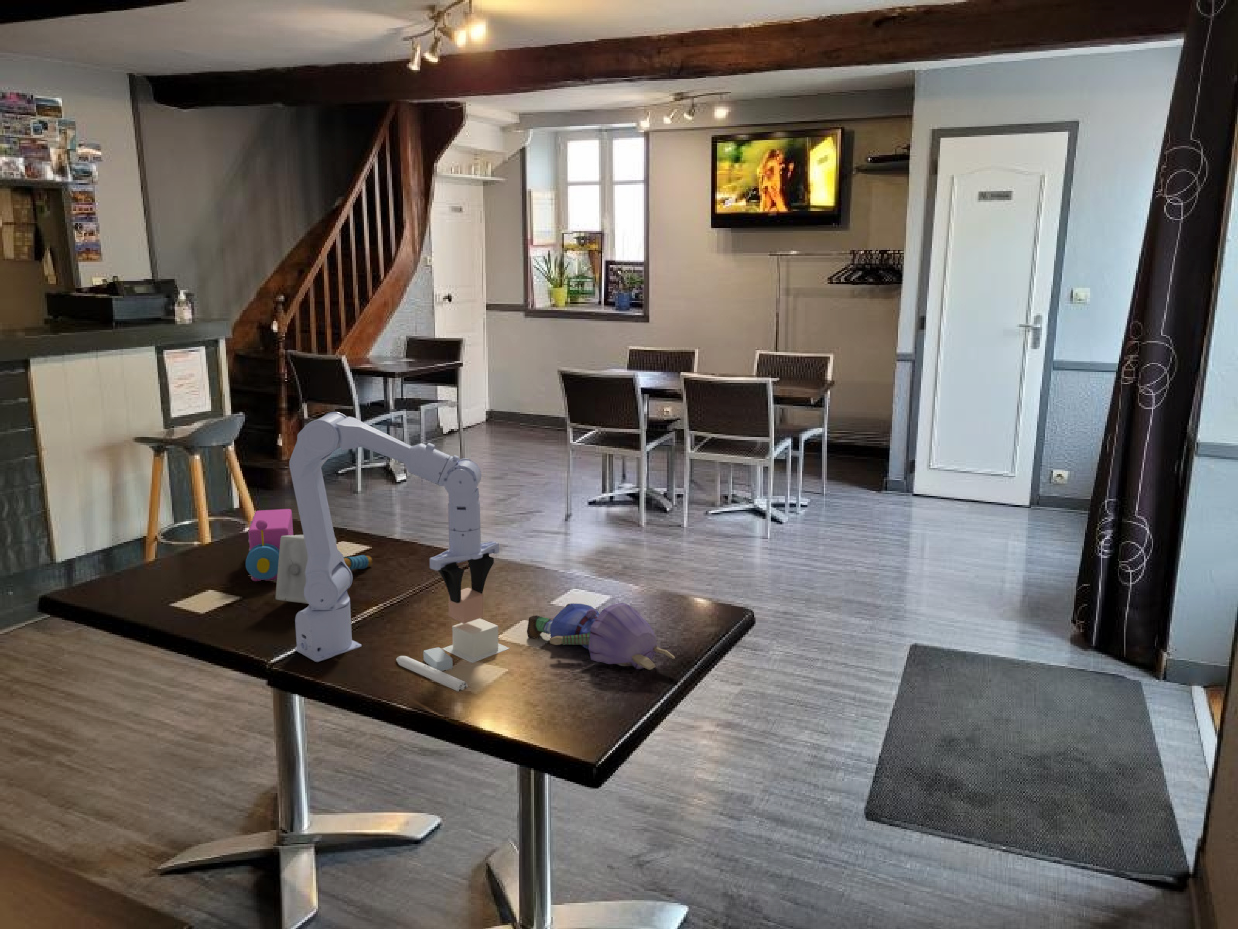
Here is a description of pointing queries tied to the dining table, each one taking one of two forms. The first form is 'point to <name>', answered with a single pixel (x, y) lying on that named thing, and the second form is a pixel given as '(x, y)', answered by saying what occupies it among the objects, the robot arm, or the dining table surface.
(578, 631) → the toy
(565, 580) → the dining table surface
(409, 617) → the dining table surface
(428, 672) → the marker
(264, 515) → the toy
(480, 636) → the base block
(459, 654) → the plate
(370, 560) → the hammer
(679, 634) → the dining table surface
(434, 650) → the brick
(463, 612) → the top block
